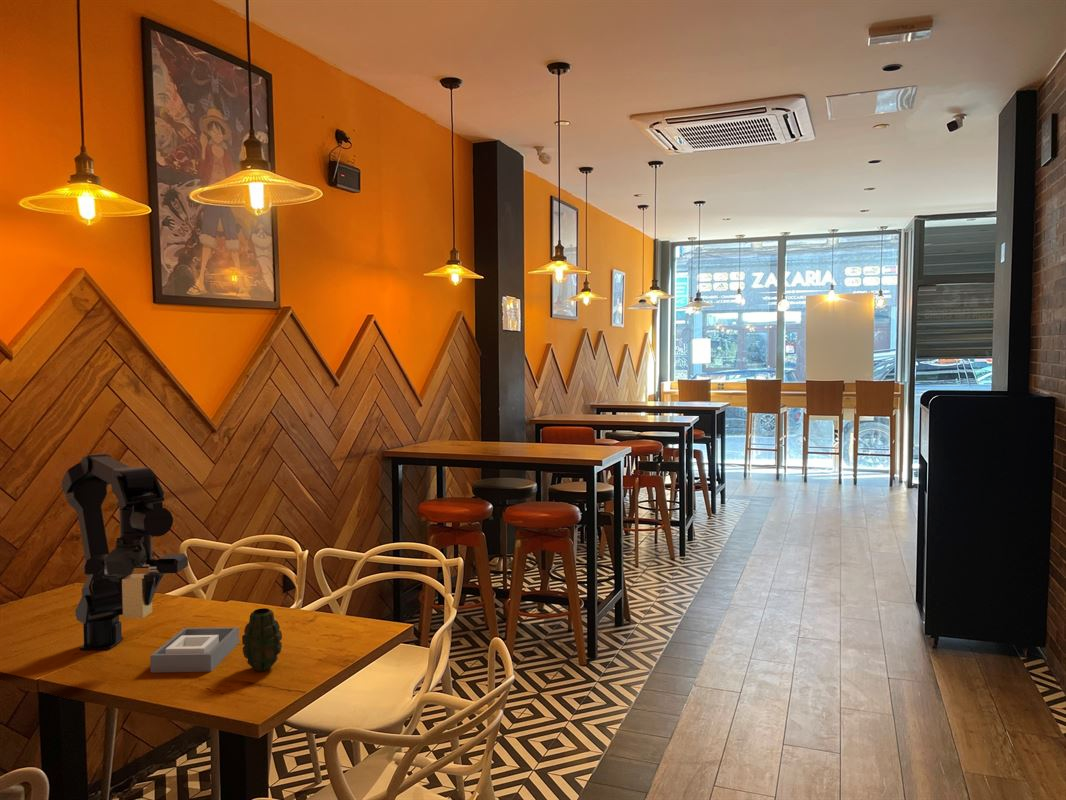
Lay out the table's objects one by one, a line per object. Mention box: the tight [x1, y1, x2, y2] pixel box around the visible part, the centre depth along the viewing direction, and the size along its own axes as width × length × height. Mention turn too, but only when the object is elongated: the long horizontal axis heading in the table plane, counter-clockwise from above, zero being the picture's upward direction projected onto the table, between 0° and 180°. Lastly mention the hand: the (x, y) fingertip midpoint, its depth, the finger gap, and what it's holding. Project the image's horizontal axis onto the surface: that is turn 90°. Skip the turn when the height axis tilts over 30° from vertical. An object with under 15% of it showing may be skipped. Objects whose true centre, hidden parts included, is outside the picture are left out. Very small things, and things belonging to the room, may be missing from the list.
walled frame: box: [149, 626, 240, 674], centre depth 159 cm, size 12×16×4 cm
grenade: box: [241, 607, 283, 672], centre depth 153 cm, size 8×8×12 cm
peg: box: [122, 573, 153, 619], centre depth 154 cm, size 4×4×8 cm
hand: (137, 605), depth 154 cm, fingers closed on peg, 4 cm apart
